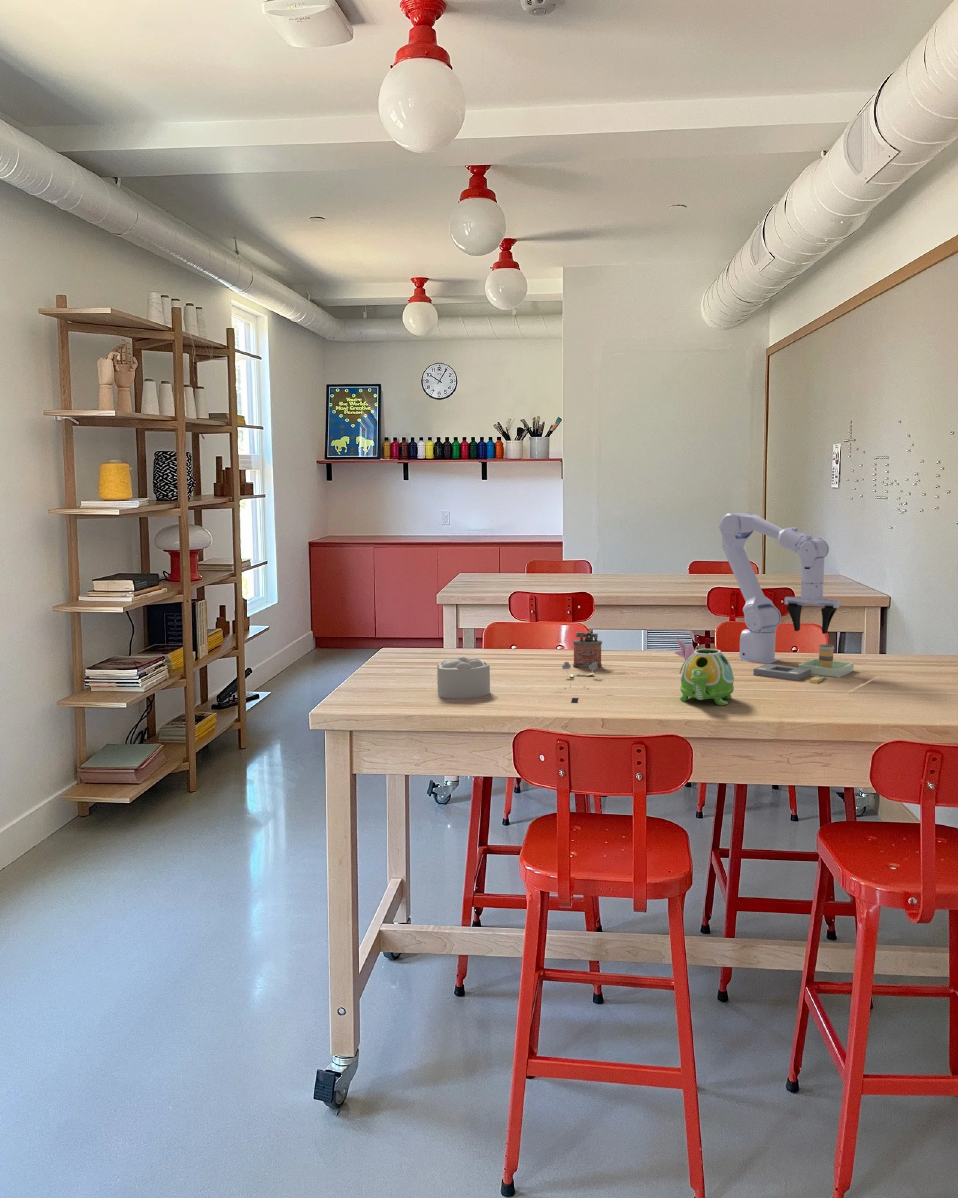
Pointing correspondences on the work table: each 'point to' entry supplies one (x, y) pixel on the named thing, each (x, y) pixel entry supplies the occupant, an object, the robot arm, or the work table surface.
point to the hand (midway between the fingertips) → (810, 631)
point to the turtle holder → (707, 677)
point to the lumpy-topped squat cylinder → (463, 678)
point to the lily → (684, 651)
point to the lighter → (587, 650)
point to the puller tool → (817, 679)
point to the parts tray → (836, 671)
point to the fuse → (826, 656)
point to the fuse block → (782, 672)
